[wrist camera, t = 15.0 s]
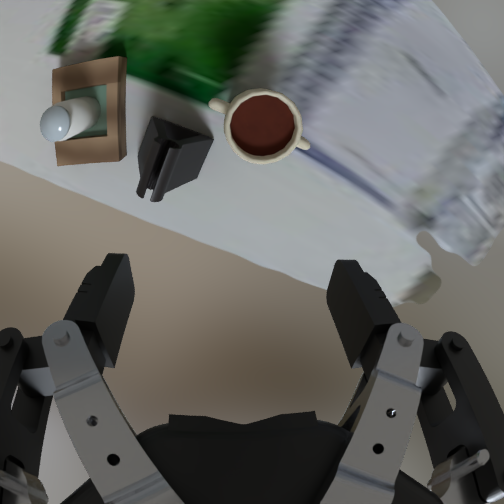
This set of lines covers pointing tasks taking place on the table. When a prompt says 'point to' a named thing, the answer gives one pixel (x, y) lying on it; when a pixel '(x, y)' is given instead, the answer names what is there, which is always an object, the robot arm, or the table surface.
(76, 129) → the white rounded cylinder
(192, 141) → the phone stand
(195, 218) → the table surface
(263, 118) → the character mug
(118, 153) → the wooden frame
